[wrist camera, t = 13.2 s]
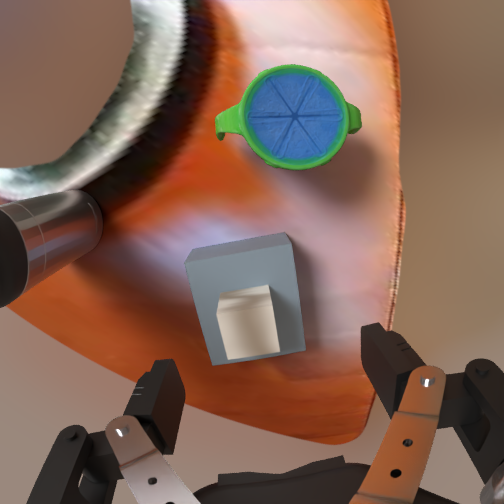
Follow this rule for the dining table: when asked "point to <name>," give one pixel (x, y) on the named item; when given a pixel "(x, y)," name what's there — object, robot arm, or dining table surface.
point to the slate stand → (247, 276)
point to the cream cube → (247, 322)
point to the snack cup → (291, 117)
